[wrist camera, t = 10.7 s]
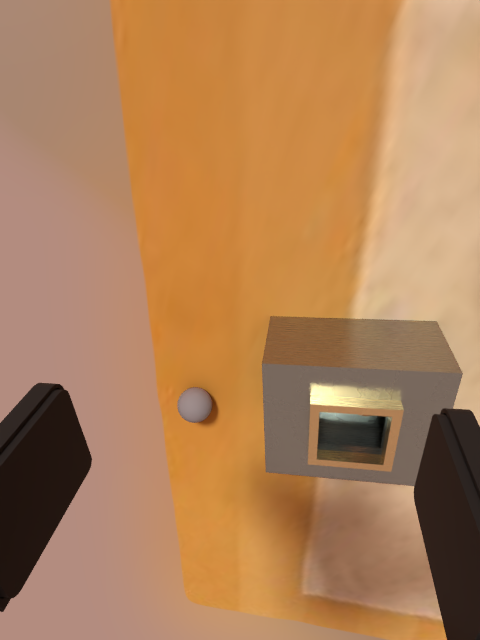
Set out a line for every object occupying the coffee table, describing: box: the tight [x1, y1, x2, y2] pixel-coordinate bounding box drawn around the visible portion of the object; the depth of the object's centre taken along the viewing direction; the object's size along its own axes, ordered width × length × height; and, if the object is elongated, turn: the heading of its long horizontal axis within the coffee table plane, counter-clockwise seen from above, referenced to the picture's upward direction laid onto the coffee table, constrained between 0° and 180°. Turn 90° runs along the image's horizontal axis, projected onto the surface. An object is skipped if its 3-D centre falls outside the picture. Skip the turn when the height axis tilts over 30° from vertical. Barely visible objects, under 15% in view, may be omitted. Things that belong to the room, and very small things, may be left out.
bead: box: [178, 387, 212, 423], centre depth 47 cm, size 4×4×4 cm
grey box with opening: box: [262, 316, 463, 486], centre depth 40 cm, size 16×14×9 cm
